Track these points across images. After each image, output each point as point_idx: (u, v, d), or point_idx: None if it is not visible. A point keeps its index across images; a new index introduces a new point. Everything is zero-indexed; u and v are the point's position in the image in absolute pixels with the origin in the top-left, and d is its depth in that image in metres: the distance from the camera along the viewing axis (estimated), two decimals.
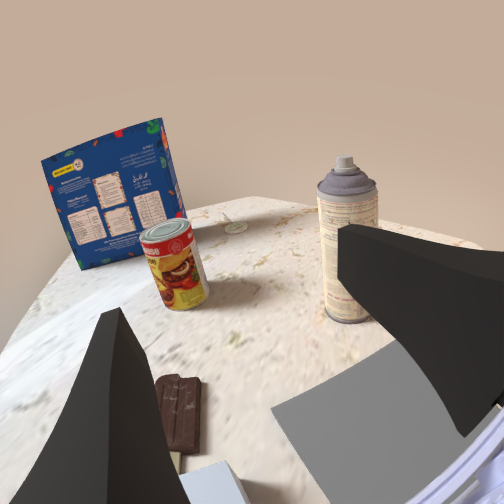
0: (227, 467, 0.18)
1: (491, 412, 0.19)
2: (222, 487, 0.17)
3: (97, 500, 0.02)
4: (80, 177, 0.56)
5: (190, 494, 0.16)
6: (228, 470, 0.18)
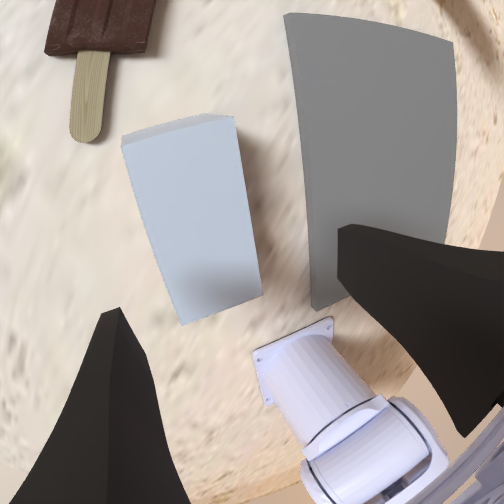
0: (234, 132, 0.12)
1: (448, 188, 0.25)
2: (218, 175, 0.12)
3: (97, 500, 0.02)
4: None
5: (157, 186, 0.11)
6: (235, 140, 0.12)
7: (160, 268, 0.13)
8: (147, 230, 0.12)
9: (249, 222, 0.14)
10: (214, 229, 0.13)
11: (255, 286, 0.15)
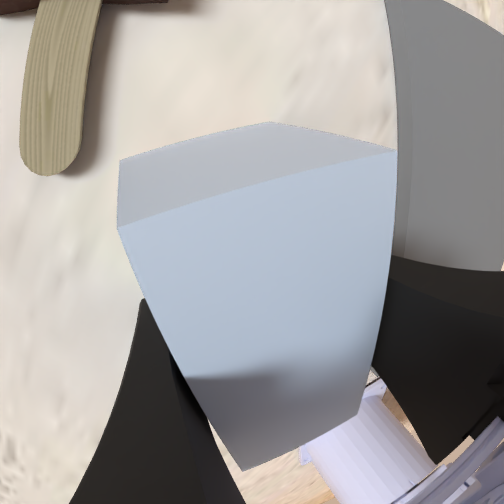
0: (392, 187, 0.05)
1: None
2: (350, 278, 0.05)
3: (189, 480, 0.03)
4: None
5: (223, 320, 0.05)
6: (392, 203, 0.05)
7: (219, 433, 0.06)
8: (197, 394, 0.05)
9: (374, 341, 0.07)
10: (321, 366, 0.06)
11: (352, 409, 0.09)
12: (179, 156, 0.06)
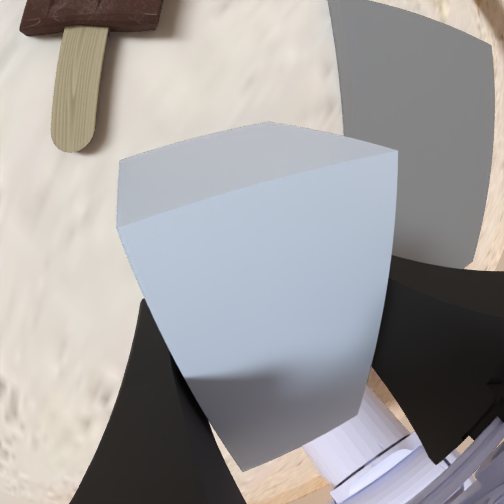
0: (392, 187, 0.05)
1: (482, 203, 0.22)
2: (350, 278, 0.05)
3: (189, 480, 0.03)
4: None
5: (223, 320, 0.05)
6: (392, 203, 0.05)
7: (219, 433, 0.06)
8: (197, 395, 0.05)
9: (374, 342, 0.07)
10: (321, 367, 0.06)
11: (353, 410, 0.09)
12: (179, 156, 0.06)
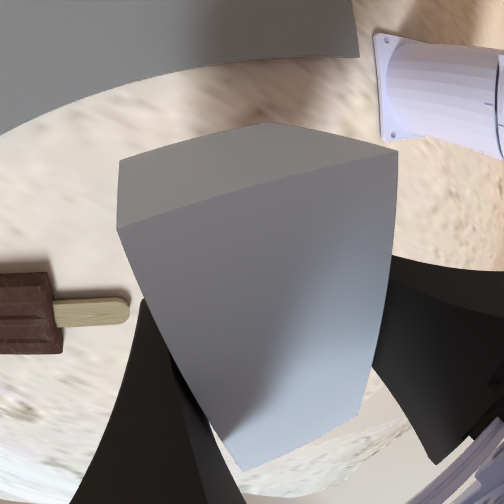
0: (392, 187, 0.05)
1: None
2: (351, 279, 0.05)
3: (189, 480, 0.03)
4: None
5: (224, 321, 0.05)
6: (392, 203, 0.05)
7: (219, 434, 0.06)
8: (198, 396, 0.05)
9: (374, 342, 0.07)
10: (322, 367, 0.06)
11: (353, 410, 0.09)
12: (179, 156, 0.06)
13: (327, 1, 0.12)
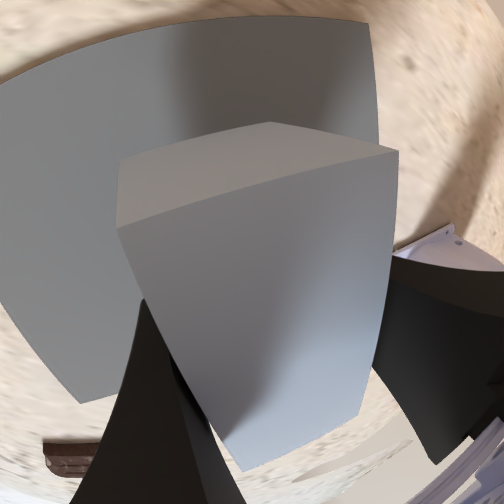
0: (393, 187, 0.05)
1: (253, 35, 0.11)
2: (352, 279, 0.05)
3: (190, 480, 0.03)
4: None
5: (223, 321, 0.05)
6: (393, 203, 0.05)
7: (219, 434, 0.06)
8: (197, 396, 0.05)
9: (374, 342, 0.07)
10: (322, 367, 0.06)
11: (353, 410, 0.09)
12: (179, 156, 0.06)
13: None
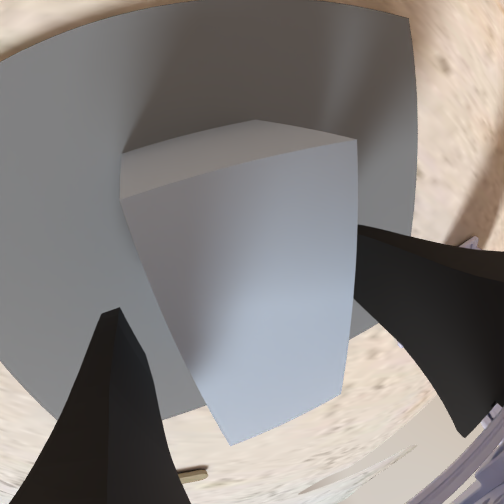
0: (353, 171, 0.06)
1: (286, 21, 0.08)
2: (319, 252, 0.06)
3: (97, 500, 0.02)
4: None
5: (205, 281, 0.06)
6: (354, 185, 0.06)
7: (205, 398, 0.07)
8: (184, 354, 0.06)
9: (349, 316, 0.08)
10: (298, 336, 0.07)
11: (335, 388, 0.10)
12: (173, 149, 0.07)
13: None
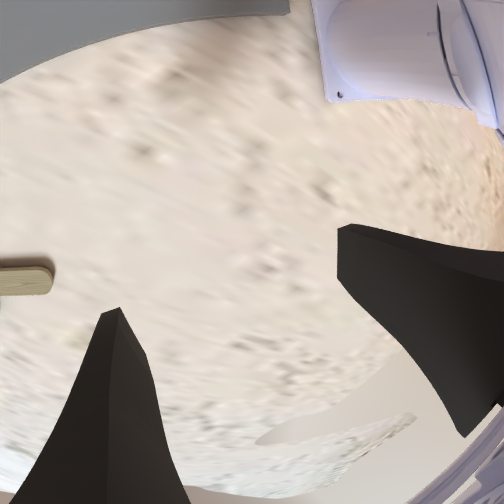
0: None
1: None
2: None
3: (97, 500, 0.02)
4: None
5: None
6: None
7: None
8: None
9: None
10: None
11: None
12: None
13: None
